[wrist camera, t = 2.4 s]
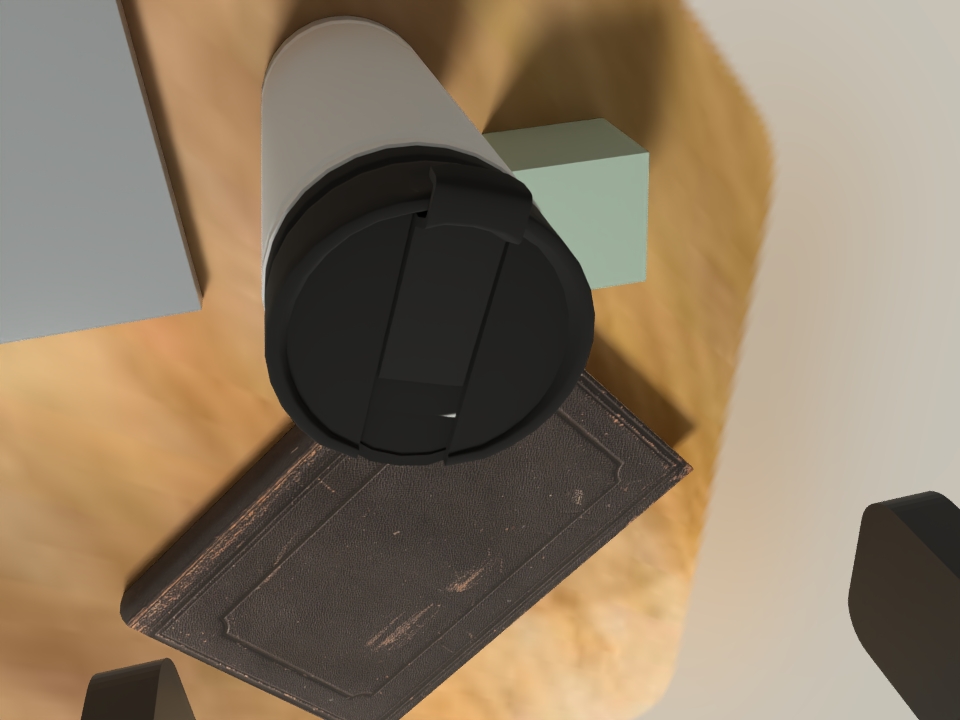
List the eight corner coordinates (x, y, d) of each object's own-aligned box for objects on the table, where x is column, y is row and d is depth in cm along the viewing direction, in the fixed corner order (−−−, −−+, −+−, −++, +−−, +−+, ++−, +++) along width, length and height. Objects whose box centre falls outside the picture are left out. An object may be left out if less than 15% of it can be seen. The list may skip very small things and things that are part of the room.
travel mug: (449, 26, 32) (660, 211, 15) (411, 197, 35) (553, 514, 18) (275, -15, 30) (294, 143, 13) (250, 169, 33) (240, 493, 16)
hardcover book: (675, 443, 45) (694, 470, 43) (368, 708, 50) (372, 743, 48) (463, 250, 37) (474, 272, 35) (122, 586, 42) (116, 622, 40)
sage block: (481, 133, 35) (511, 171, 30) (602, 117, 35) (649, 152, 31) (489, 250, 37) (518, 301, 33) (602, 233, 38) (645, 280, 34)
